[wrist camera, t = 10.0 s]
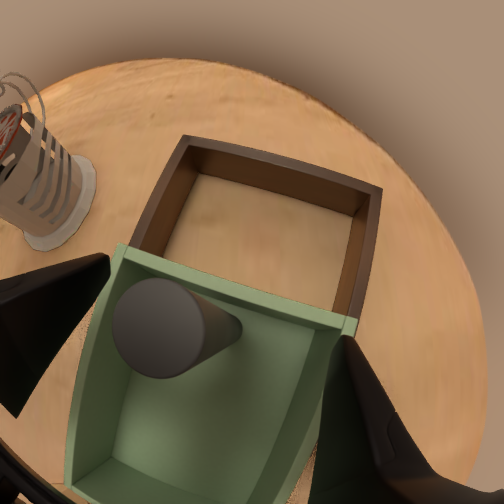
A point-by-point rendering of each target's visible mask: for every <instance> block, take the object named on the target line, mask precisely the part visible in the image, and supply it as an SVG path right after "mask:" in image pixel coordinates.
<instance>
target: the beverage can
mask: <svg viewBox="0 0 504 504" xmlns="http://www.w3.org/2000/svg"><path fill="white" fill-rule="evenodd" d="M8 150H9V149H8ZM15 157H16V155H15V154H14V153H13V154H12V155H10V156H9V157H7V158H6V159H5V160H4V161H3V163H2V164H1V165H0V174H1V172H2V171H3V169H4V168H5V167H6V166H7V164H8V163H9V162H10V161H11V160H13V159H14V158H15ZM16 165H17V163H16V164H15V165H14V166H13V167H12V168H11V169H10V171H9V172H8V173H7V175H6V176H5V180H4V182H5V181H6V180H7V179H8V177H9V176H10V174H11V173H12V171H13V169H14V168H15V166H16Z"/></svg>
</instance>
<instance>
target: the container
mask: <svg viewBox="0 0 504 504" xmlns="http://www.w3.org/2000/svg"><path fill="white" fill-rule="evenodd" d="M110 266H111V276H110V278H109V280H108V282H107V283H106V285H105V286H104V288H103V289H102V291H101V292H100V294H99V296H98V299H97V302H96V305H95V308H94V311H93V314H92V318H91V321H90V324H89V328H88V331H87V335H86V339H85V342H84V346H83V350H82V354H81V358H80V363H79V367H78V371H77V376H76V381H75V386H74V391H73V397H72V402H71V408H70V415H69V422H68V430H67V439H66V449H65V464H64V486H66V487H67V488H69V489H70V490H72V491H73V492H74V493H76V494H77V495H79V496H80V497H82V498H83V499H85V500H87V501H88V502H90V503H91V504H285V503H286V502H287V500H288V498H289V496H290V495H291V493H292V491H293V489H294V487H295V485H296V483H297V481H298V479H299V477H300V475H301V473H302V471H303V469H304V467H305V465H306V463H307V461H308V459H309V457H310V455H311V453H312V450H313V448H314V446H315V444H316V441H317V439H318V436H319V428H320V419H321V409H322V399H323V390H324V385H325V380H326V375H327V370H328V365H329V359H330V354H331V351H332V349H333V347H334V346H335V344H336V342H337V341H338V339H339V337H340V336H341V335H342V334H345V335H349V336H352V337H354V333H355V330H356V326H357V322H358V319H356V318H352V317H349V316H345V315H341V314H338V313H334V312H331V311H327V310H324V309H320V308H317V307H314V306H310V305H307V304H303V303H300V302H297V301H293V300H290V299H287V298H283V297H280V296H277V295H273V294H270V293H267V292H264V291H261V290H257V289H254V288H251V287H248V286H245V285H242V284H238V283H235V282H232V281H229V280H226V279H223V278H220V277H217V276H214V275H211V274H208V273H205V272H202V271H199V270H196V269H193V268H190V267H187V266H184V265H181V264H178V263H175V262H173V261H170V260H167V259H164V258H161V257H158V256H155V255H153V254H150V253H147V252H144V251H142V250H139V249H136V248H133V247H130V246H128V245H125V244H122V243H118V245H117V247H116V250H115V252H114V255H113V257H112V260H111V263H110Z"/></svg>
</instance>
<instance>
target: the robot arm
mask: <svg viewBox="0 0 504 504" xmlns="http://www.w3.org/2000/svg"><path fill="white" fill-rule="evenodd" d="M110 276H111V266H110V258H109V256H108V255H106V254H104V253H96V254H92V255H88V256H84V257H81V258H77V259H73V260H70V261H66V262H62V263H59V264H55V265H52V266H48V267H45V268H41V269H38V270H34V271H31V272H27V273H26V274H25V273H24V274H21V275H17V276H14V277H10V278H6V279H2V280H0V403H1V404H2V405H3V406H4V407H5V408H6V409H7V410H8V411H9V412H10V413H11V414H12V415H13V416H14V417H15V418H16V419H17V417H18V416H19V414H20V413H21V411H22V409H23V407H24V406H25V404H26V402H27V400H28V399H29V397H30V395H31V394H32V392H33V390H34V389H35V387H36V385H37V384H38V382H39V380H40V379H41V377H42V376H43V374H44V373H45V371H46V369H47V368H48V366H49V365H50V363H51V362H52V360H53V359H54V357H55V356H56V354H57V353H58V352H59V350H60V349H61V347H62V346H63V344H64V343H65V342H66V340H67V339H68V337H69V336H70V335H71V333H72V332H73V330H74V329H75V328H76V326H77V325H78V324H79V322H80V321H81V320H82V318H83V317H84V316H85V314H86V313H87V312H88V310H89V309H90V308H91V306H92V305H93V303H94V302H95V300H96V299H97V297H98V296H99V294H100V292H101V291H102V289H103V288H104V286H105V285H106V283H107V282H108V280H109V278H110ZM19 493H22V494H23V495H24V496H25V497H26V498H27V499H28V500H29V501H30V502H31V503H33V504H77V503H75V502H74V501H72V500H71V499H69V498H68V497H66V496H65V495H64V494H62V493H61V492H60V491H58V490H57V489H56V488H54V487H53V486H52V485H51V484H49V483H48V482H47V481H46V480H44V479H43V478H42V477H41V476H40V475H38V474H37V473H36V472H35V471H34V470H33V469H31V468H30V467H29V466H28V465H27V464H26V463H25V462H24V461H23V460H22V459H21V458H20V457H19V456H18V455H17V454H16V453H14V452H13V450H12V449H11V448H10V447H9V446H8V445H7V444H6V443H5V442H4V441H3V440H2V439H1V438H0V504H26V503H25V502H23V501H22V500H20V499H19V498H17V496H18V495H19ZM309 496H310V497H309V499H308V504H504V490H503V489H500V490H497V491H495V492H491V493H487V492H481V491H478V490H475V489H473V488H470V487H467V486H464V485H462V484H459V483H456V482H454V481H451V480H449V479H446V478H444V477H442V476H440V475H439V474H437V473H436V472H435V471H434V470H433V469H432V468H431V466H430V465H429V463H428V462H427V460H426V459H425V457H424V456H423V454H422V453H421V451H420V450H419V448H418V447H417V445H416V444H415V442H414V441H413V439H412V438H411V436H410V434H409V433H408V431H407V430H406V428H405V426H404V424H403V423H402V421H401V419H400V417H399V415H398V413H397V412H395V408H394V406H393V405H392V403H391V401H390V399H389V397H388V396H387V394H386V392H385V390H384V388H383V387H382V385H381V383H380V381H379V380H378V378H377V376H376V374H375V373H374V371H373V369H372V368H371V366H370V364H369V362H368V361H367V359H366V357H365V356H364V354H363V352H362V351H361V349H360V347H359V346H358V344H357V342H356V341H355V339H354V337H352V336H349V335H345V334H342V335H341V336H340V337H339V339H338V341H337V342H336V344H335V346H334V347H333V349H332V351H331V354H330V359H329V365H328V370H327V375H326V380H325V385H324V390H323V399H322V409H321V419H320V428H319V436H318V444H317V451H316V458H315V465H314V471H313V477H312V483H311V489H310V494H309Z"/></svg>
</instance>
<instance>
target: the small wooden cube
mask: <svg viewBox="0 0 504 504" xmlns="http://www.w3.org/2000/svg"><path fill="white" fill-rule="evenodd" d="M51 485H52V486H53V487H54V488H56V489H57V490H58V491H60V492H61V493H62V494H64V495H65V496H66V497H68V498H69V499H71V500H72V501H74V502H75V503H77V504H88V502H87V501H86V500H85V499H83V498H82V497H80V496H79V495H77V494H76V493H74V492H73V491H72V490H70V489H69V488H67V487H66V486H64V484H51Z"/></svg>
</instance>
